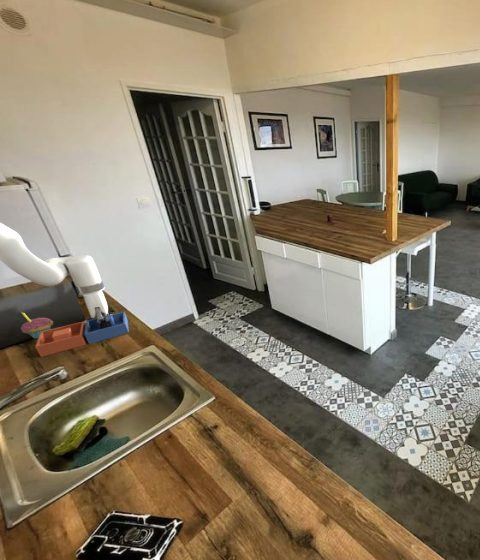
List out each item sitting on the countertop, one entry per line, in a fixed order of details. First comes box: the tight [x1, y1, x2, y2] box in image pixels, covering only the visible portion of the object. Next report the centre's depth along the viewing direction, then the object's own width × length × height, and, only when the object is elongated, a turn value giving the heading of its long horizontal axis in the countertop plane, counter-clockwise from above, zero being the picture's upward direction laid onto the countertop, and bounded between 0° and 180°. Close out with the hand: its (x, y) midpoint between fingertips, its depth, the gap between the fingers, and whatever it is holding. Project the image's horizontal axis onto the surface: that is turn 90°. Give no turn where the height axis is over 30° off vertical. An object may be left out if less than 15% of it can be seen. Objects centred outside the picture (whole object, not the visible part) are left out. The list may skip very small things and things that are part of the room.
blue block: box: [97, 314, 115, 329], centre depth 126 cm, size 4×4×4 cm
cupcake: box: [20, 311, 54, 339], centre depth 122 cm, size 9×8×12 cm
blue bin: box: [85, 311, 130, 345], centre depth 126 cm, size 12×12×4 cm
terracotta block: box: [52, 328, 74, 341], centre depth 119 cm, size 4×4×4 cm
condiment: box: [77, 293, 97, 324], centre depth 134 cm, size 7×8×12 cm
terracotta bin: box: [35, 320, 88, 358], centre depth 119 cm, size 12×12×4 cm
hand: (107, 326), depth 126 cm, fingers closed on blue block, 4 cm apart
